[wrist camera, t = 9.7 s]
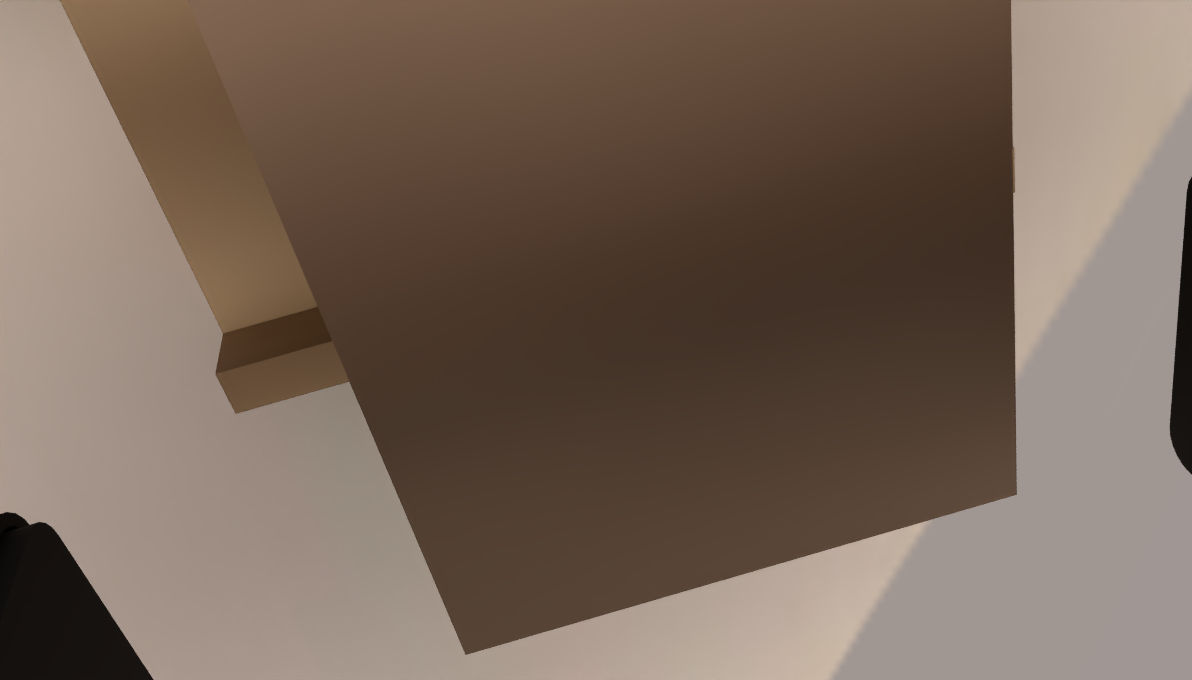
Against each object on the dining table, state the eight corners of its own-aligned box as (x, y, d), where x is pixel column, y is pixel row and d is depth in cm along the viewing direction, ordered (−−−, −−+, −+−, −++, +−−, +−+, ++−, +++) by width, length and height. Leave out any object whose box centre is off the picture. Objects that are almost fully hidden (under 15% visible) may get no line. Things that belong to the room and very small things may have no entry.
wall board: (1070, 43, 22) (1832, 505, 11) (80, 321, 22) (-231, 1118, 10) (1082, -640, 17) (2758, -1222, 5) (-264, -283, 16) (-1876, -14, 4)
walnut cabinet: (756, 183, 19) (1017, 556, 11) (437, 273, 19) (489, 710, 11) (681, -313, 15) (1008, -237, 7) (271, -203, 15) (182, -12, 7)
